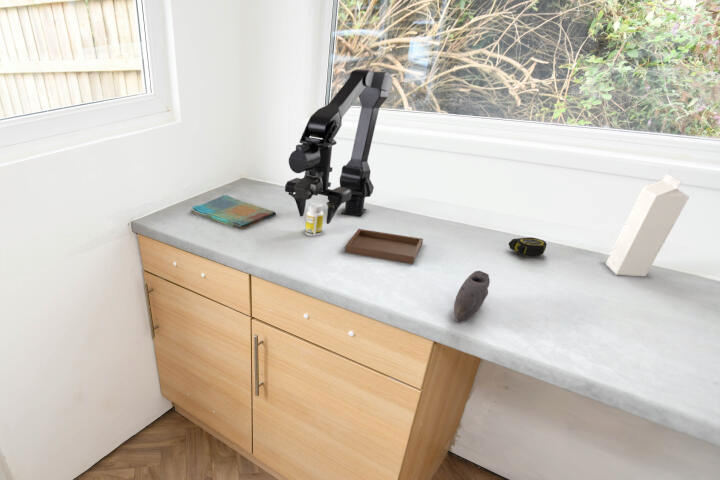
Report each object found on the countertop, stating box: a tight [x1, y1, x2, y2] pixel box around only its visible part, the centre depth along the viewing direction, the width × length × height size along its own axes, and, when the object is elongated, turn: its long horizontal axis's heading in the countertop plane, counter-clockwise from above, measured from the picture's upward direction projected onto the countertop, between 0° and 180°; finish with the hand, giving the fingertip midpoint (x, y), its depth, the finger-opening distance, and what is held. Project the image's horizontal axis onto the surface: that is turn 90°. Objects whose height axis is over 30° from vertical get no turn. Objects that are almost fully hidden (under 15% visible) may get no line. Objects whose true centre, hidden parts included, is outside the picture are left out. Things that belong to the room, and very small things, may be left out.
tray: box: [344, 228, 424, 265], centre depth 128 cm, size 13×18×2 cm
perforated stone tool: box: [453, 270, 491, 323], centre depth 99 cm, size 15×5×7 cm, turn 141°
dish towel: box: [189, 194, 277, 230], centre depth 154 cm, size 17×23×2 cm
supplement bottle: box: [305, 202, 324, 237], centre depth 137 cm, size 5×5×8 cm
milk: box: [605, 173, 690, 277], centre depth 107 cm, size 6×6×22 cm
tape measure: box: [508, 236, 547, 258], centre depth 121 cm, size 7×7×4 cm
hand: (314, 219), depth 137 cm, fingers open, 9 cm apart
